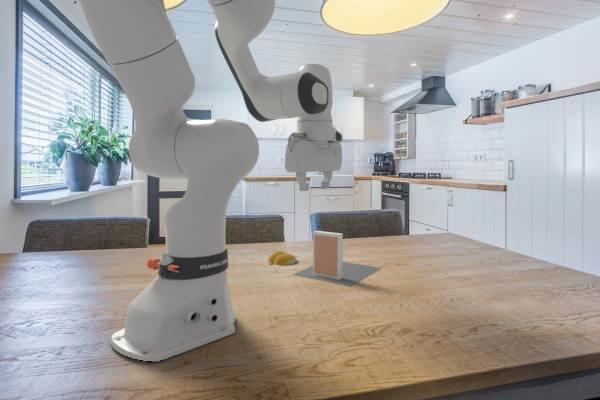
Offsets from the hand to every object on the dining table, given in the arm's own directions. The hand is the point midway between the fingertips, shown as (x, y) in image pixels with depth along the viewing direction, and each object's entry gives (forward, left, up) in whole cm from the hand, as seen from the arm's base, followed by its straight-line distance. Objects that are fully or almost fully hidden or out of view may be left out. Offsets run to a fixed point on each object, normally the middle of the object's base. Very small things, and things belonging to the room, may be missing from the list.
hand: (315, 189), depth 91 cm
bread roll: (+12, +20, -25) cm, 34 cm away
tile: (+6, 0, -24) cm, 25 cm away
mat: (+12, 0, -25) cm, 27 cm away
